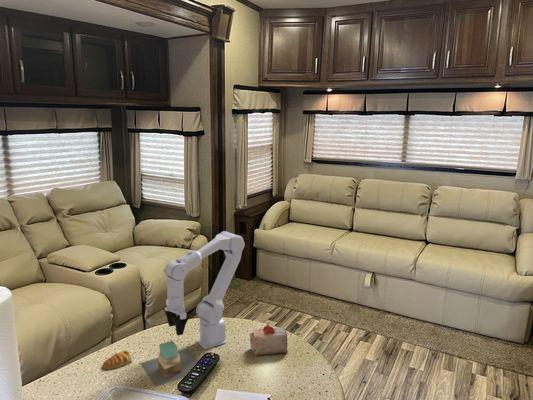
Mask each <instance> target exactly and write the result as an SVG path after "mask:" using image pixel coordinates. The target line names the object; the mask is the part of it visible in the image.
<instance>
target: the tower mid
mask: <svg viewBox="0 0 533 400" xmlns="http://www.w3.org/2000/svg"><path fill="white" fill-rule="evenodd" d="M158 357H159V362H160V363H161V365H162V366H163V368H164V369H166V368H169V367H172V366H176V365H179V364H180V355H179V354H178V356H176V357H173V358H169V359H166V360H164V358H163V357H162V356H161V354H160V352H158Z"/></svg>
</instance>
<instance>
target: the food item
mask: <svg viewBox="0 0 533 400" xmlns="http://www.w3.org/2000/svg"><path fill="white" fill-rule="evenodd" d="M249 345H250V348H251V350H252V352H253V355H254V356H255V357H258V356H259V357H260V356H265V355H275V354H276V355H277V354H283V353H284V354H285V353H286V354H287V353H288V352H289V351H288V346H289V345H288V332H287V329H286V328H285V327H273V326H271V325H269V323H267V324H266V325H265V326H263V328H259V329H253V330H252V332H250V333H249Z"/></svg>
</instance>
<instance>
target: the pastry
mask: <svg viewBox="0 0 533 400" xmlns="http://www.w3.org/2000/svg"><path fill="white" fill-rule="evenodd" d="M132 362H133V358H132V356H131V353H130V352H129V351H128V350H126V349H124V350H123V351H121V352H117V353H114V354H113V355H112V356H110V357H109V358H107V359H106V360H105V361H103V364H102V368H103V369H104V370H115V369H118V368H121V367H124V366H127V365H129V364H132Z"/></svg>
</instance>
